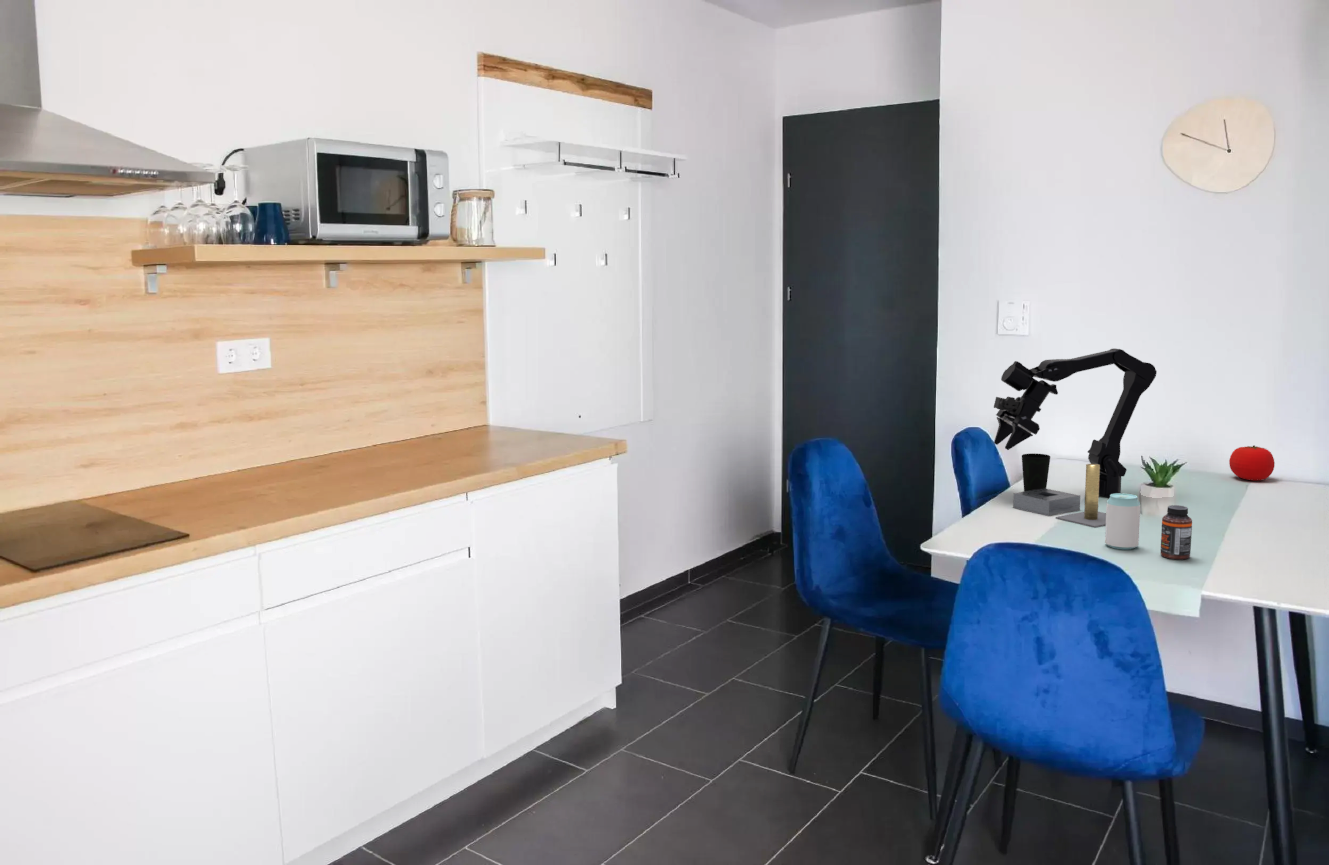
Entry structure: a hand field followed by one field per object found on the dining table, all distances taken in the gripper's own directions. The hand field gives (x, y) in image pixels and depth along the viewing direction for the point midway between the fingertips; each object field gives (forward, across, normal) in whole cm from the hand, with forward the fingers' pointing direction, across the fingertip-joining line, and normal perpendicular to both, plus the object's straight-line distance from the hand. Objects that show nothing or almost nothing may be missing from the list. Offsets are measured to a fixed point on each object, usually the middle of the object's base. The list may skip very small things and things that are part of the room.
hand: (1000, 446), depth 282 cm
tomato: (-32, -17, +77) cm, 85 cm away
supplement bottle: (+4, +64, +23) cm, 68 cm away
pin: (+5, +29, +19) cm, 35 cm away
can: (+8, +55, +16) cm, 58 cm away
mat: (+5, +28, +20) cm, 35 cm away
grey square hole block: (+8, +15, +14) cm, 22 cm away
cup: (+7, 0, +17) cm, 18 cm away
